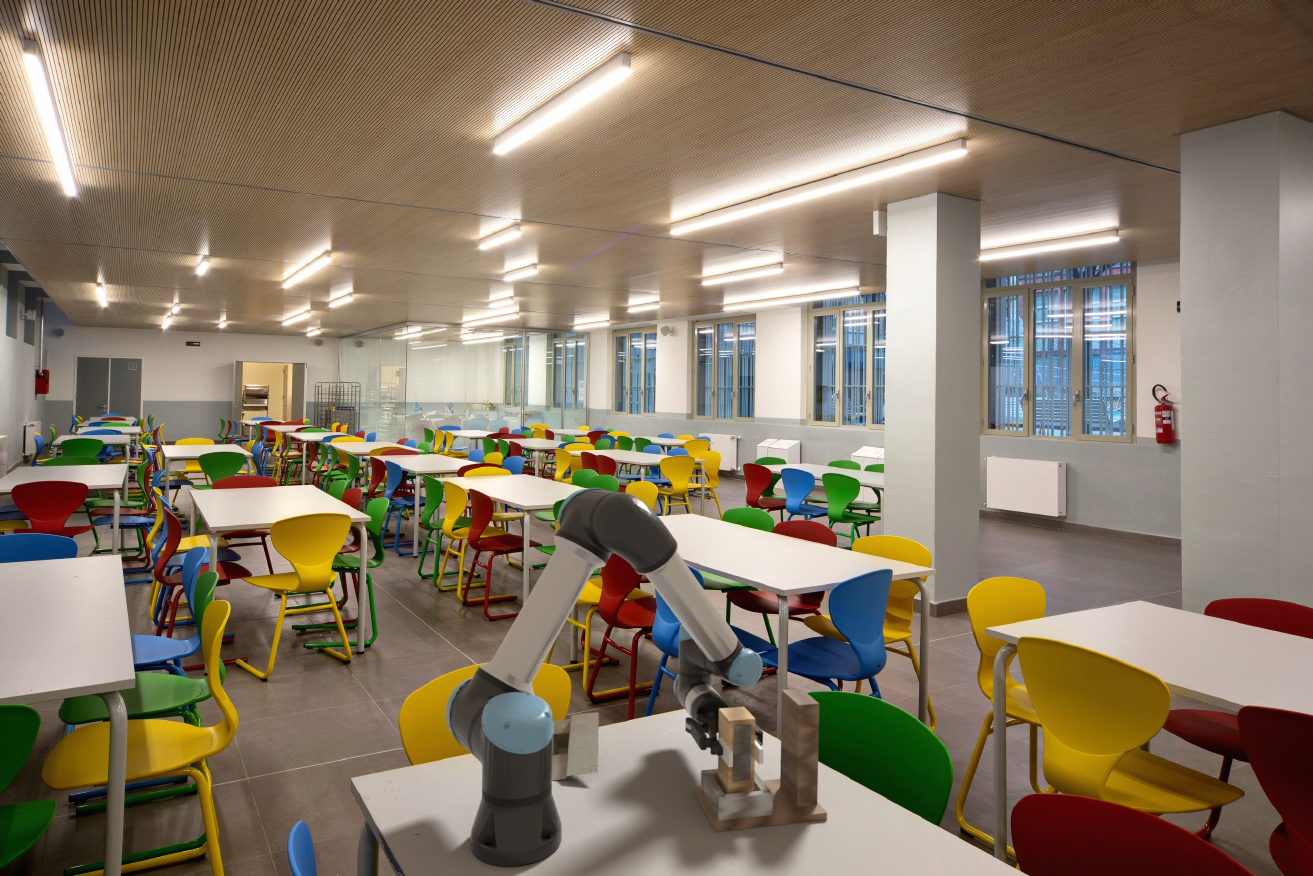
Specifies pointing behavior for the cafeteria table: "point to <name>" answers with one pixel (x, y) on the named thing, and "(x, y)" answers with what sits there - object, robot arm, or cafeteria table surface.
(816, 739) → the wooden peg insertion stand
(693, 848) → the cafeteria table surface
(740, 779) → the block
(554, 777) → the wall
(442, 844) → the cafeteria table surface
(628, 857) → the cafeteria table surface
